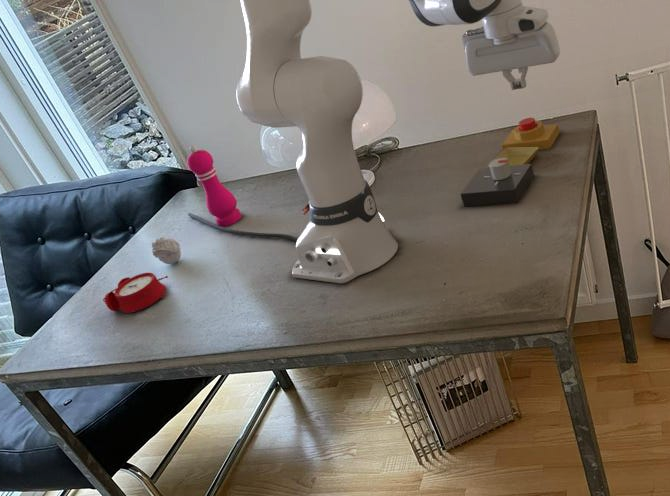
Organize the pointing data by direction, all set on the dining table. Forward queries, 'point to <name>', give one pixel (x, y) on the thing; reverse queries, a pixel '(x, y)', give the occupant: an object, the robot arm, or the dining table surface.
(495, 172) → the knob
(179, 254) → the white lumpy rounded piece
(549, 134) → the yellow button base
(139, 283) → the alarm clock
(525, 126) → the stop button
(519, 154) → the yellow square tray
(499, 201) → the panel
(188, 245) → the dining table surface
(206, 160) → the pepper mill
